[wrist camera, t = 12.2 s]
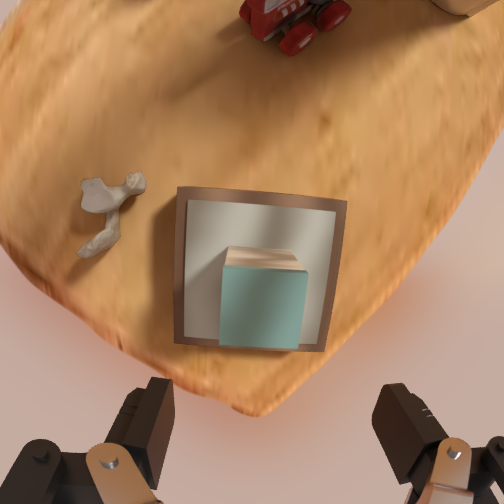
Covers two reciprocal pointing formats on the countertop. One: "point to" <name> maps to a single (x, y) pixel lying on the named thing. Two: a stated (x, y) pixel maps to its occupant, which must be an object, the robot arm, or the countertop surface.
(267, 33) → the toy fire truck
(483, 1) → the robot arm
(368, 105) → the countertop surface
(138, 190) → the bone
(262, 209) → the base slab
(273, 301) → the maple block
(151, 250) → the countertop surface
